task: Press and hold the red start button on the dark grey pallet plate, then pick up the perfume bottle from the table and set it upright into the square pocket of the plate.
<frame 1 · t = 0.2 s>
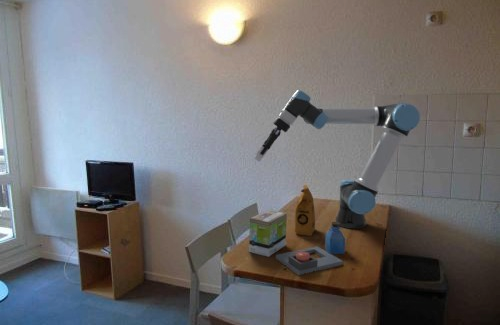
hand: (257, 158, 163), 36 cm above the counter, tool tilted 35°, fingers open, 13 cm apart
start button: (302, 256, 128), point 4 cm above the counter, slide at 0.0 cm
coffee package: (304, 232, 168), on the counter
perfume bottle: (334, 251, 145), on the counter
pallet plate: (308, 261, 135), on the counter
tea box: (268, 249, 147), on the counter
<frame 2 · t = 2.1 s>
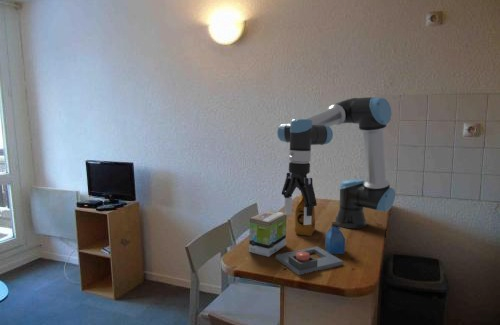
hand: (297, 219, 128), 18 cm above the counter, tool pointing down, fingers open, 13 cm apart
nothing on the counter moved.
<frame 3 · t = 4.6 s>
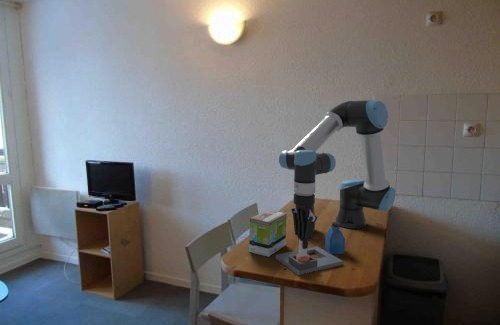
hand: (302, 255, 128), 5 cm above the counter, tool pointing down, fingers closed
start button: (302, 259, 128), point 4 cm above the counter, slide at 0.8 cm, touching gripper
everything else where it was.
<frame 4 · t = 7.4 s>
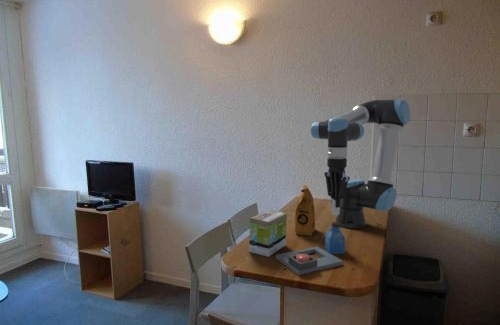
hand: (335, 214, 143), 16 cm above the counter, tool pointing down, fingers closed
start button: (302, 259, 128), point 4 cm above the counter, slide at 1.0 cm
everything else where it was.
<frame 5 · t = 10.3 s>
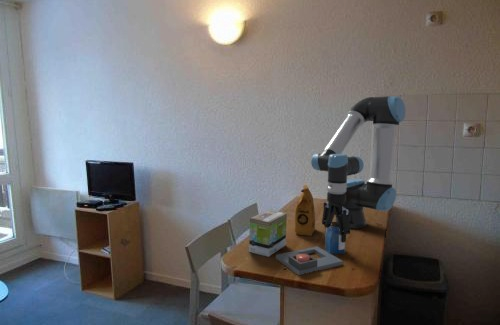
hand: (334, 245, 145), 2 cm above the counter, tool pointing down, fingers closed on perfume bottle, 8 cm apart
perfume bottle: (334, 251, 145), on the counter, touching gripper
everything else where it was.
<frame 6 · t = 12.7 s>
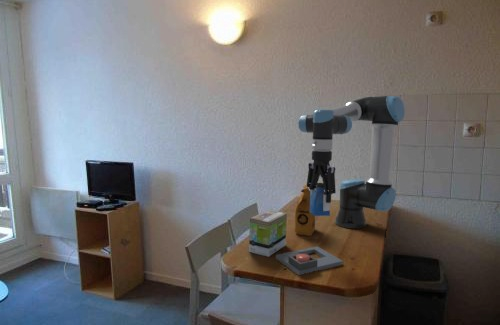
hand: (319, 207, 137), 20 cm above the counter, tool pointing down, fingers closed on perfume bottle, 8 cm apart
perfume bottle: (319, 214, 137), point 18 cm above the counter, touching gripper
everything else where it was.
when the fingers open (4 cm above the counter, at t = 15.5 s): perfume bottle drops 2 cm, resting in pallet plate.
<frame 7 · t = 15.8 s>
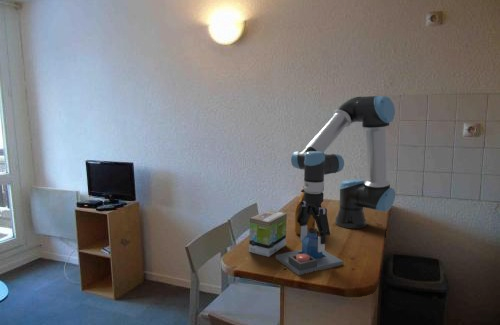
hand: (312, 246, 137), 5 cm above the counter, tool pointing down, fingers open, 11 cm apart
perfume bottle: (311, 258, 138), resting in pallet plate
everything else where it was.
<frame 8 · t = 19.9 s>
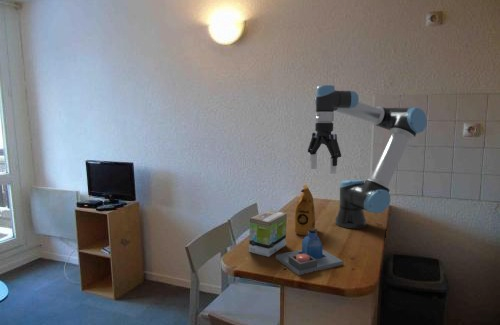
hand: (322, 171, 152), 32 cm above the counter, tool pointing down, fingers open, 13 cm apart
nothing on the counter moved.
at the end: start button slide at 1.0 cm; perfume bottle 0.0 cm from the target spot, resting in pallet plate; perfume bottle tilted 0° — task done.
